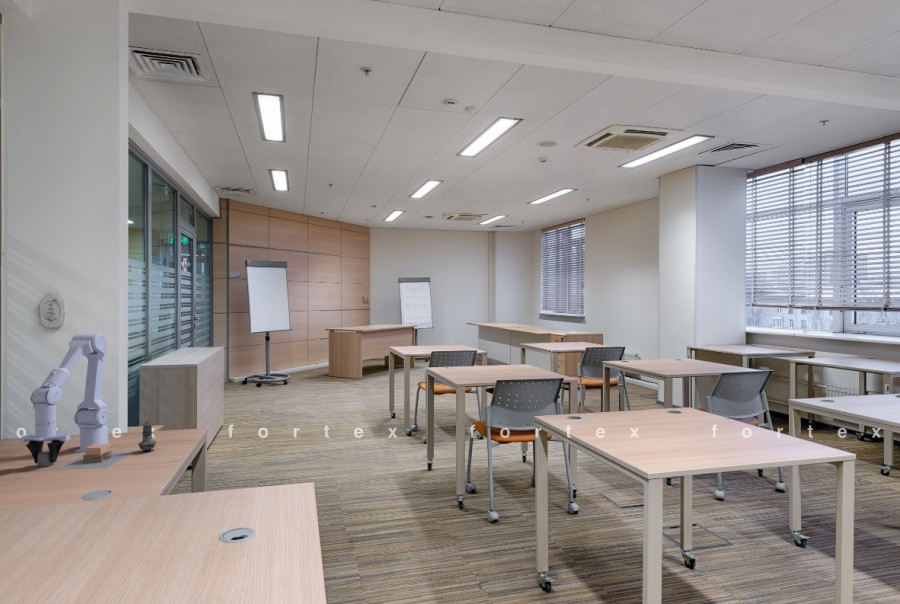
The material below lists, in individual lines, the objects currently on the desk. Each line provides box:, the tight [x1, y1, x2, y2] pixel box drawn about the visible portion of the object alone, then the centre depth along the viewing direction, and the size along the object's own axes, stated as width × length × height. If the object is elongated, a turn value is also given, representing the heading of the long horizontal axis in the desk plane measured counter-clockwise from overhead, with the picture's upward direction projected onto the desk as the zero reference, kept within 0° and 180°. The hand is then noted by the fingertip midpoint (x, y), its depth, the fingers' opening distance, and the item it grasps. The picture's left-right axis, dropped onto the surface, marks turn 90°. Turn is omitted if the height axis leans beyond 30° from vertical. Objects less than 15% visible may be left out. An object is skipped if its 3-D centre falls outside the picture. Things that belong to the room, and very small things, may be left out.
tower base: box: [82, 449, 112, 463], centre depth 183 cm, size 6×6×2 cm
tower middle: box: [85, 443, 110, 455], centre depth 183 cm, size 5×5×2 cm
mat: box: [55, 451, 135, 470], centre depth 183 cm, size 18×16×1 cm
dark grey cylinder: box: [37, 449, 55, 469], centre depth 177 cm, size 4×4×5 cm
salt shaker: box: [137, 419, 157, 454], centre depth 194 cm, size 6×6×12 cm
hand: (45, 462), depth 177 cm, fingers closed on dark grey cylinder, 4 cm apart
